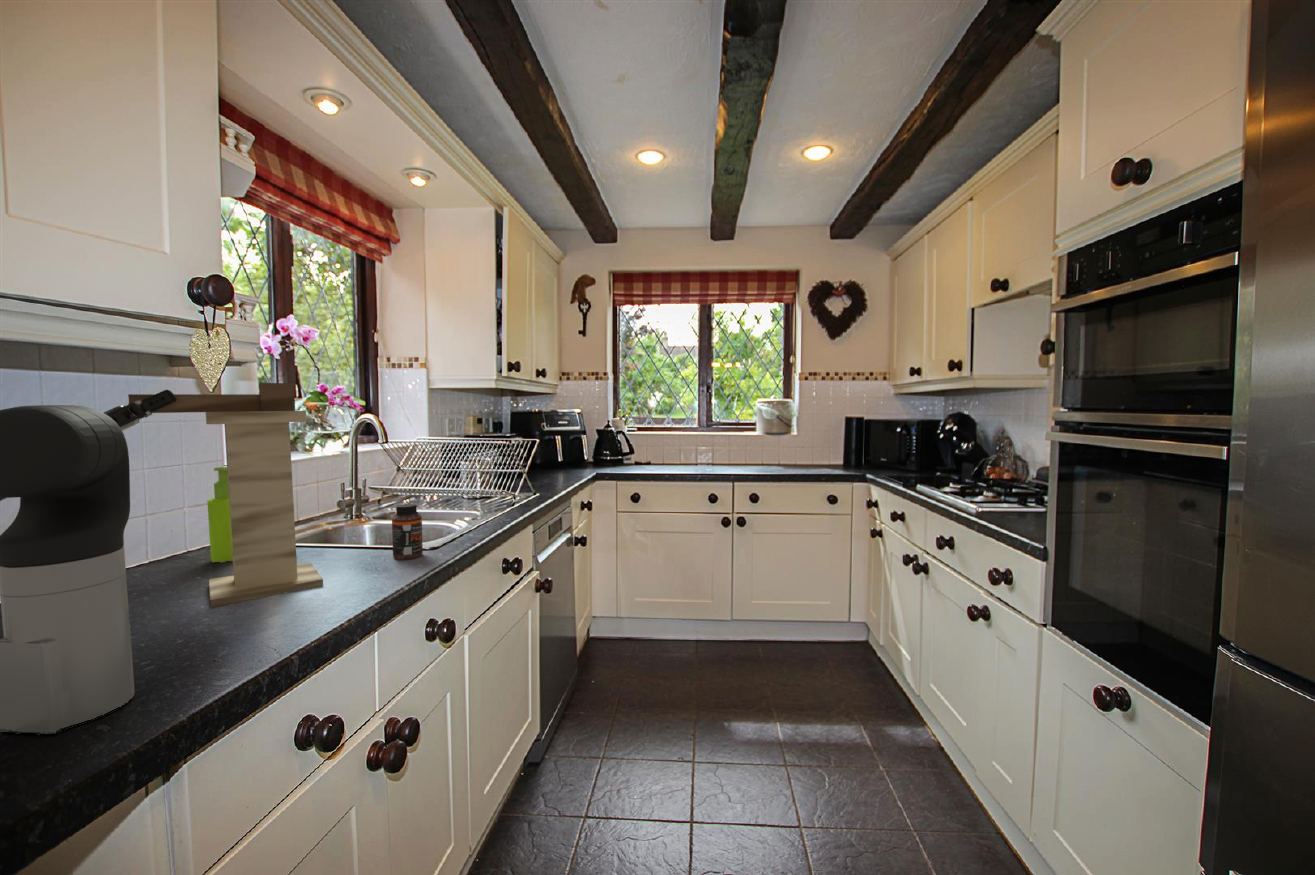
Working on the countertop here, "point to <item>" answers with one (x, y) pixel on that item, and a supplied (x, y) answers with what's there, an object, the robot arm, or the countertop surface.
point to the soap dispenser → (220, 520)
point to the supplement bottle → (407, 532)
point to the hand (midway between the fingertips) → (173, 395)
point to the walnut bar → (231, 400)
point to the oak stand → (260, 508)
